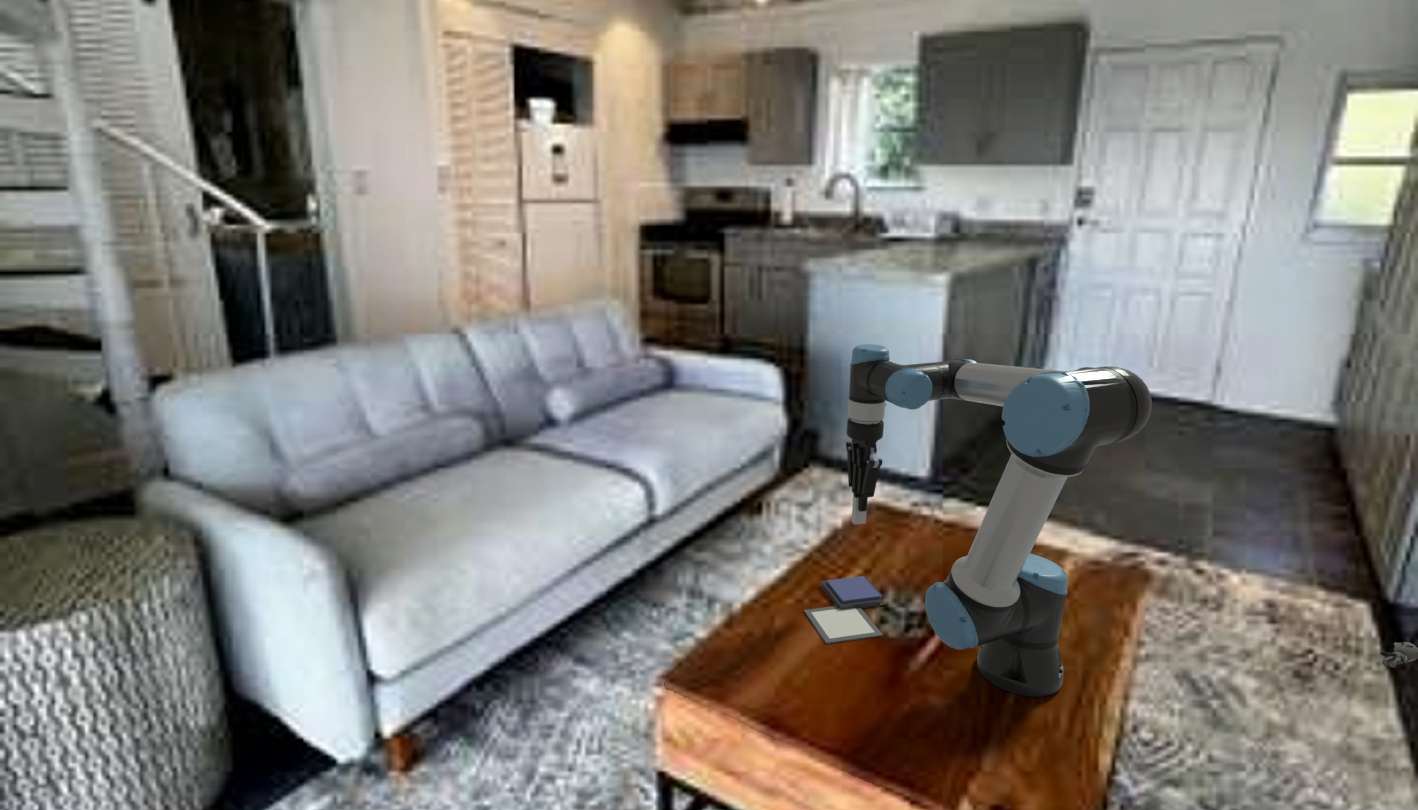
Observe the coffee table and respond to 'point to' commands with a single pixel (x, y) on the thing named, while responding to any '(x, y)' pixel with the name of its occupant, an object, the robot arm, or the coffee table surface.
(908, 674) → the coffee table surface
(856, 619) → the grey picture frame
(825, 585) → the ink pad
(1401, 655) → the grey lumpy piece
